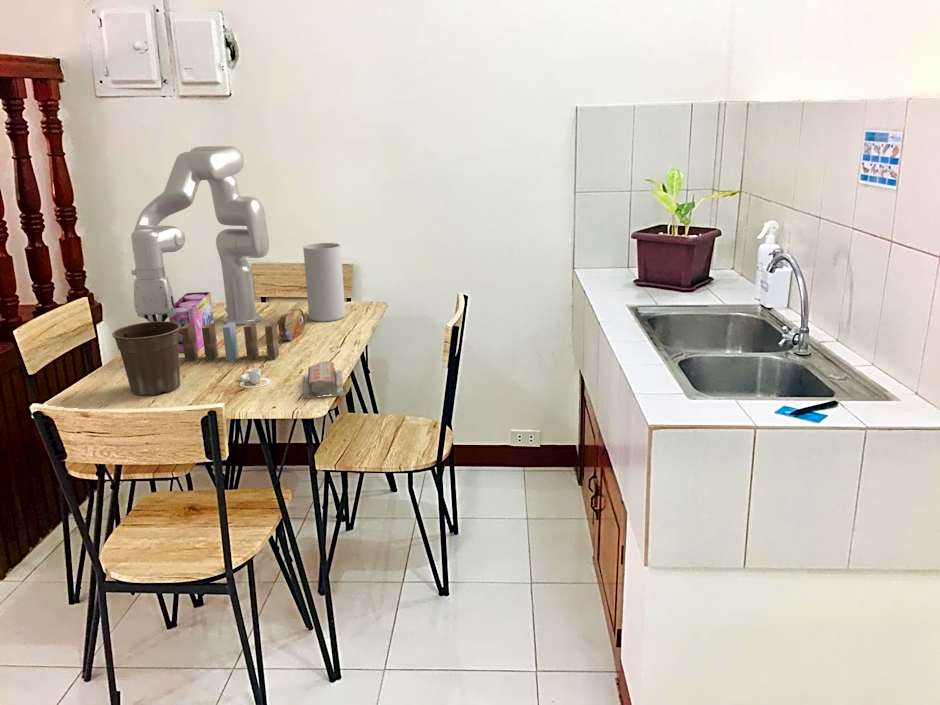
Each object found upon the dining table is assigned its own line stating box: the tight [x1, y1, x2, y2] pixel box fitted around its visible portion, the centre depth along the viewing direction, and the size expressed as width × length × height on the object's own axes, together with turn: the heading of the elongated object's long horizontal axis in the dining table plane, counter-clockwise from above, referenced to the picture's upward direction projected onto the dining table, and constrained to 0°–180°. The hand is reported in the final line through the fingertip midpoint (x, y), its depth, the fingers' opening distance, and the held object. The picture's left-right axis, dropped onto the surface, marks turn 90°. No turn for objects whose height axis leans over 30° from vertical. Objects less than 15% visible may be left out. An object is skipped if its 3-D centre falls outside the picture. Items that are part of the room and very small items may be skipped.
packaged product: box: [303, 360, 344, 399], centre depth 206 cm, size 18×5×10 cm
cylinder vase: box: [302, 242, 346, 322], centre depth 272 cm, size 12×12×25 cm
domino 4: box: [243, 322, 260, 361], centre depth 230 cm, size 2×6×10 cm, turn 0°
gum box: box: [168, 291, 215, 353], centre depth 247 cm, size 24×8×14 cm, turn 5°
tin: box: [277, 308, 306, 341], centre depth 251 cm, size 15×3×8 cm, turn 168°
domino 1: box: [181, 323, 199, 363], centre depth 230 cm, size 2×6×10 cm, turn 0°
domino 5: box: [264, 321, 280, 361], centre depth 230 cm, size 2×6×10 cm, turn 0°
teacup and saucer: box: [239, 367, 271, 389], centre depth 210 cm, size 9×8×4 cm
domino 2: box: [202, 322, 219, 362], centre depth 230 cm, size 2×6×10 cm, turn 0°
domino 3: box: [222, 322, 239, 362], centre depth 230 cm, size 2×6×10 cm, turn 0°
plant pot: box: [111, 320, 181, 397], centre depth 205 cm, size 16×16×16 cm
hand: (159, 336), depth 230 cm, fingers closed
